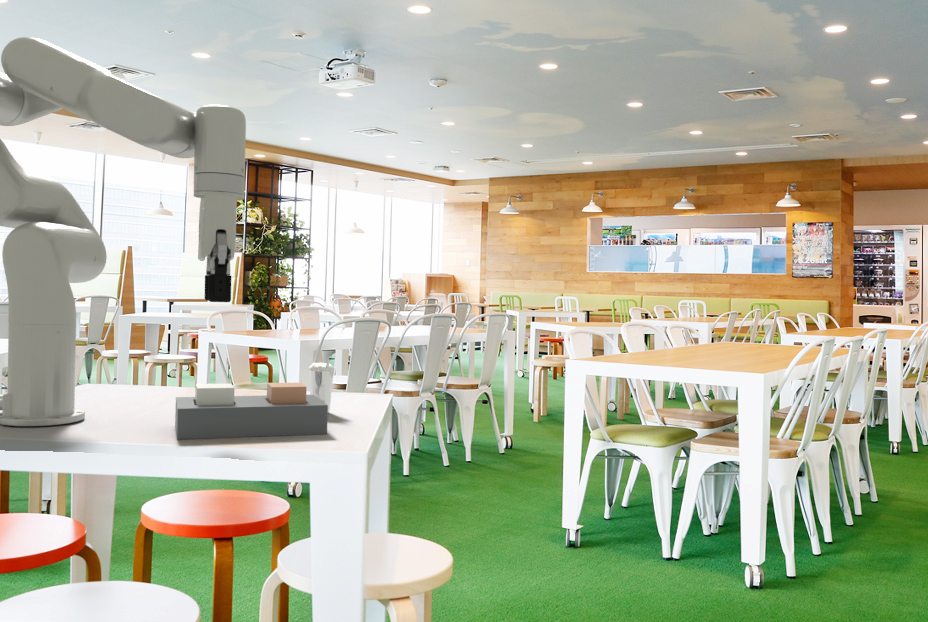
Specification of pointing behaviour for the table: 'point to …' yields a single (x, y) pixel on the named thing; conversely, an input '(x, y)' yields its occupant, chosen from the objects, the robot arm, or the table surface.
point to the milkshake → (321, 381)
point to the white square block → (214, 394)
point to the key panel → (249, 418)
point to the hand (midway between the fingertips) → (217, 300)
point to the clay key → (286, 393)
